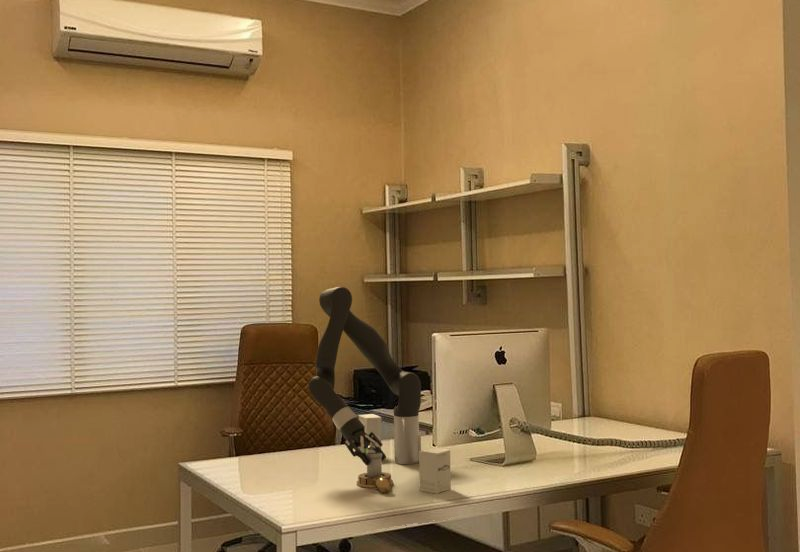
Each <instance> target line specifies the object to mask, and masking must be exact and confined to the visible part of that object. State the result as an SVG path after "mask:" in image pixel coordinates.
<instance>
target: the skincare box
mask: <svg viewBox="0 0 800 552" xmlns="http://www.w3.org/2000/svg"><path fill="white" fill-rule="evenodd" d="M358 419H359V420H360V421H361V423H362V424H363V425H364V427H365V433H366V434H370V433H371V432H373V433H374V434H375V436H376V437H377V438H378V439H379V440H380V442H381V443H382V419H383V418H382V416H379V415H378V414H374V413H369V414H358ZM376 443H377V442H376ZM370 444H371V442H370ZM377 444H378V443H377ZM373 447H374V446H373ZM374 448H375V447H374ZM364 453H366V454H367V453H375V452H374V451H373V450H369V449H367V448H366V449H364Z"/></svg>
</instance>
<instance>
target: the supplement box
mask: <svg viewBox="0 0 800 552" xmlns="http://www.w3.org/2000/svg"><path fill="white" fill-rule="evenodd" d="M418 464H419V467H418V468H419V491H422V492H425V493H432V494H436V493H437V494H439V493H441V492H445V491H450V490H452V489H451V487H452V486H451V485H452V482H451V479H452V477H451V471H452V469H451V450H450V449H444V448H437V447H431V448H427V449H424V450H421V451H419V462H418Z"/></svg>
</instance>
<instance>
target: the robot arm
mask: <svg viewBox="0 0 800 552" xmlns="http://www.w3.org/2000/svg"><path fill="white" fill-rule="evenodd" d="M352 303H353V295H352V292H351V291H350V290H349V289H348V288H346V287H345V286H337V287H331V288H328V289H326V290H323V291H322V292H321V293H320V295H319V306H320V308H321V309H322V311H323V312H324V313H325V315H327V316H328V317H329V320H328V323H327V326H326V328H325V331H324V332H323V335H322V336H321V339H320V341H319V343H318V347H317V351H316V355H315V362H314V367H315V369H316V376H313V377H312V378H310V379H309V381H308V384H307V389H308V391H309V393H310V395H311V396H312V397H313V399H314V400H315V401H316V402H317V404H318V403H319V405H320V406H321V407H322V408H323V410H324V411H325V413H326V414H327V415H328V416H329V418H330V419H331V420H332V423H334V425H335V428H337V430H338V431H339V432H340V434H341V435H342V436H343V438H344V439H345V442H344V445H345V447H346V448H347V450H348V451H349V452H350V454H351V455H352V457H358V458H359V459H360V460H361V461H362V463H363V464H365V466H367V465H369V464H370V463H371V460H370V459H369V457H368V456H367V455H366V453H364V449H366V448H367V449H369V450H373V451H374V452H375V453H382V458H381V462H383V461H384V460H386V458H387V455H386V454H385V453H384V451H383V450H382V447H383V443H382V441H381V442H380V440H379V439H378V438H377V437H376V436H375V434H374V433H373V432H371V433H370V434H366V433H365V427H364V425H363V424H362V423H361V421H360V420H359V416H357V415H356V414H355V412H354V411H353V410H352V409H351V408H350V407H349V405H348V404H347V403H346V401H345V400H344V399H343V398H342V397H341V396H340V395H338V394H337V393H336V392H335V390H334V389H335V383H336V382H335V381H336V380H335V379H336V377H335V375H336V373H335V372H336V371H335V368H336V364H337V363H336V362H337V358H338V357H337V356H338V350H339V346H340V342H341V338H342V334H343V332H344V333H345V335H346V336H347V337H348V338H349V340H351V342H352V344H354V346H355V347H356V348H357V349H358V350H359V352H360V353H361V355H363V356H364V357H365V358H366V360H367V361H368V362H369V363H370V364H371V365H372V367H374V368H375V370H376V371H377V373H379V374H380V376H381V377H382V379H383V381H384V382H385V384H386V385H387V386H388V387H389V390H390V391H391V392H392V393H393V394H394V395H395V396H398V403H397V406H395V407H394V408H393V436H394V437H393V438H394V441H393V444H394V446H393V447H394V451H393V452H394V463H396V464H399V465H400V464H401V465H411V464H412V465H413V464H419V451H422V442H421V441H422V437H421V435H420V427H419V426H420V423H419V422H420V418H419V414H420V413H419V412H420V408H421V403H422V401H421V400H422V385H421V384H422V383H421V380H420V378H419V376H418V375H417V374H416V373H414V372H410V371H406V370H405V371H404V370H403V369H402V368H401V367H400V366H399V365H398V364H397V363H396V361H394V359H393V358H392V356H391V353H390V349H389V347H388V345H387V343H386V342H385V340H384V338H383V337H382V336H381V335H380V333H379V332H378V331H377V330H376V329H375V328H374V327H373V326H372V325H370V324H368V323H367V322H366V321H364V320H363V319H360V318H359V317H358V316H356V315H355V314H354V313H353V312H352V311H351V307H352ZM370 442H371V444H370ZM376 442H377V443H378V444H377V443H376ZM373 446H374V447H375V448H374V447H373Z"/></svg>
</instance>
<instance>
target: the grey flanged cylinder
mask: <svg viewBox="0 0 800 552" xmlns="http://www.w3.org/2000/svg"><path fill="white" fill-rule="evenodd" d="M366 455H367V456H368V457H369V459H370V460H371V463H370V464H369V465H366V473H367V477H369V478H373V477H374V476H375V475H382V465H383V464H382V461H381V458H382V453H367V454H366Z"/></svg>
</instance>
